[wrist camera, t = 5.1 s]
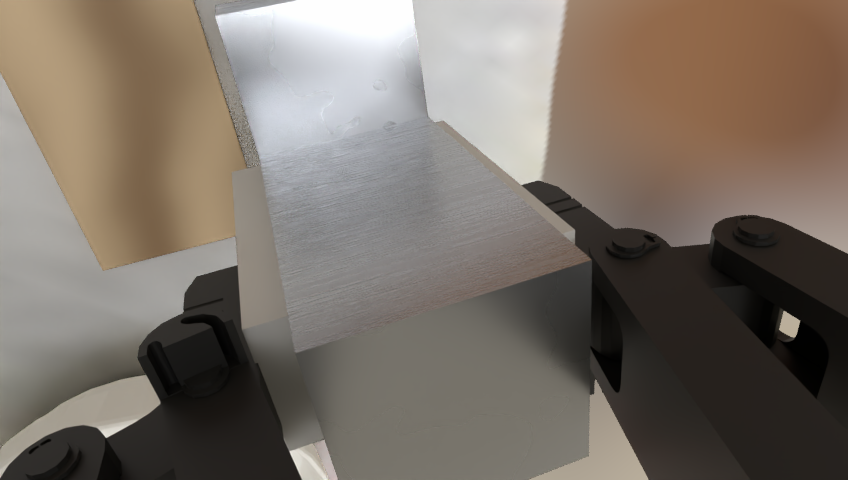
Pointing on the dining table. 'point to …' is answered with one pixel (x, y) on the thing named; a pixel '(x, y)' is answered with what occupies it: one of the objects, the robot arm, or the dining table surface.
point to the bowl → (121, 421)
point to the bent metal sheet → (406, 257)
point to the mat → (126, 120)
